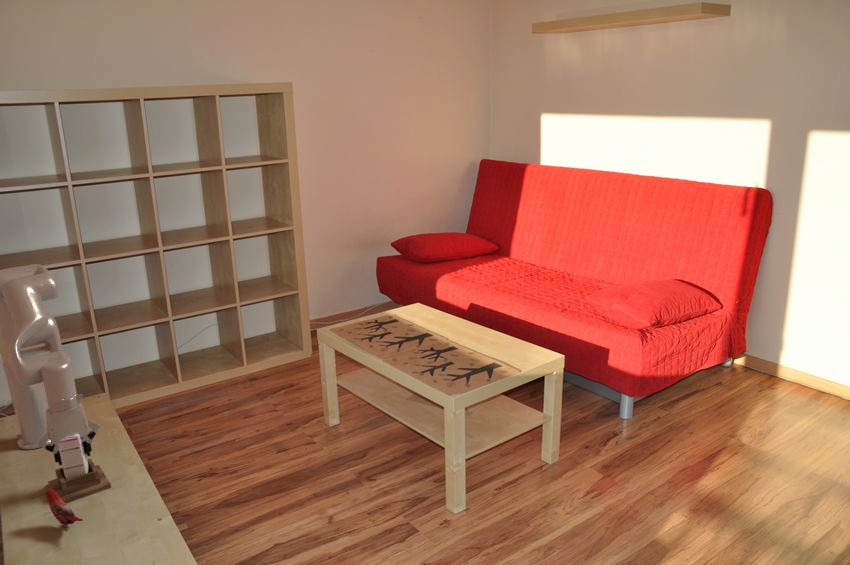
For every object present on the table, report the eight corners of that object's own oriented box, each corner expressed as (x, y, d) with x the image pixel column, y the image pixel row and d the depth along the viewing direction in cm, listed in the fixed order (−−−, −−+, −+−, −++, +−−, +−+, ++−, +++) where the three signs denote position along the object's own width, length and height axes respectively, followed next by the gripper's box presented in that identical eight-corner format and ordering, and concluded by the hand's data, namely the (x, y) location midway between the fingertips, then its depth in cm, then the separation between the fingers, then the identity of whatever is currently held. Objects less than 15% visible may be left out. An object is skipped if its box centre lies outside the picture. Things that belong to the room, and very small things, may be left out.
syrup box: (88, 480, 197) (79, 435, 193) (65, 484, 195) (56, 439, 191) (89, 470, 202) (81, 426, 198) (67, 474, 200) (58, 430, 196)
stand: (48, 485, 201) (45, 469, 199) (99, 468, 209) (96, 453, 207) (58, 506, 190) (54, 489, 189) (111, 487, 198) (108, 471, 197)
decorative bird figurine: (57, 516, 185) (50, 483, 183) (92, 538, 175) (85, 504, 173) (46, 521, 183) (39, 488, 180) (81, 544, 173) (74, 509, 170)
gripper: (92, 389, 200) (102, 444, 205) (26, 407, 190) (38, 464, 195) (99, 398, 194) (109, 453, 199) (31, 416, 184) (43, 475, 189)
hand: (74, 458), depth 197 cm, fingers closed on syrup box, 6 cm apart
